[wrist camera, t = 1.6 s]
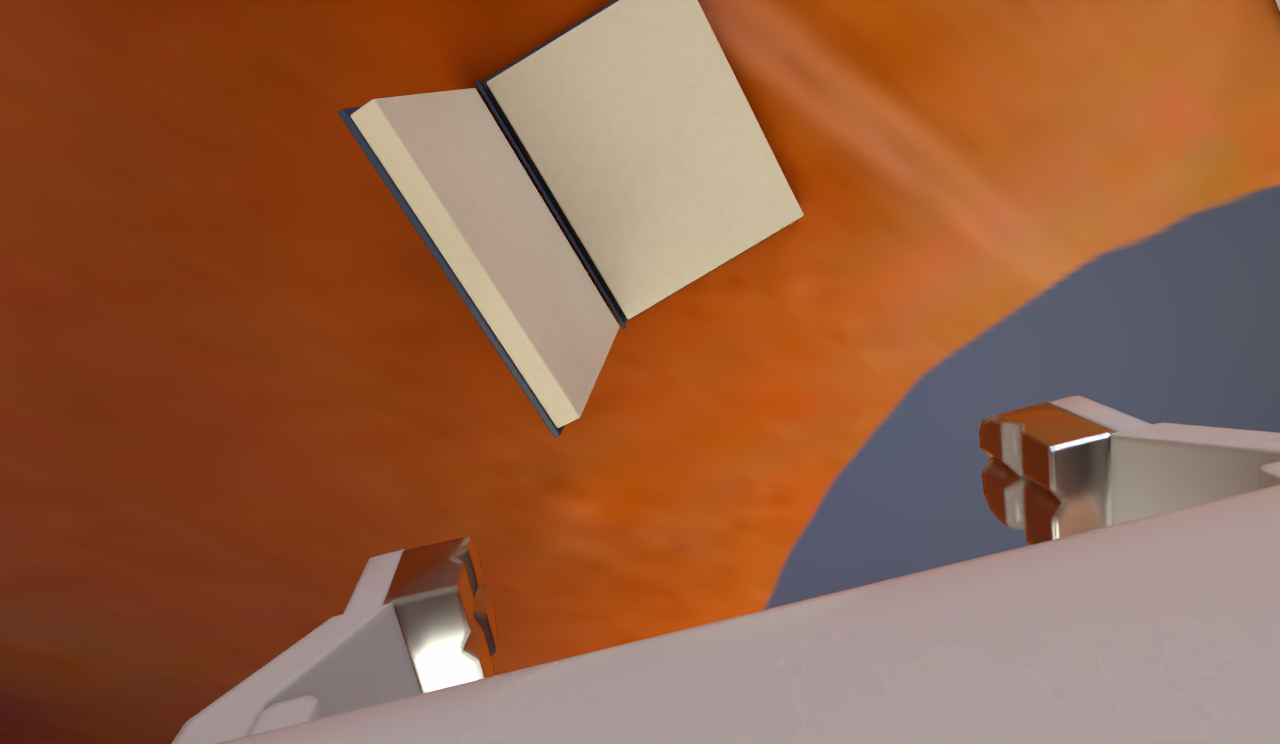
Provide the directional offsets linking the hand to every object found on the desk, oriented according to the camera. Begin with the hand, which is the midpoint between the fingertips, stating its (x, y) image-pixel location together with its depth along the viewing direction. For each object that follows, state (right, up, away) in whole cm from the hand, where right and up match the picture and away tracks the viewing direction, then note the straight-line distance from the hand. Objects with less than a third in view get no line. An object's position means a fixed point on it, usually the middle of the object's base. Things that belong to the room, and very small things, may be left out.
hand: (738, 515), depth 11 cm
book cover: (-7, +9, +25) cm, 27 cm away
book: (-1, +15, +32) cm, 35 cm away
